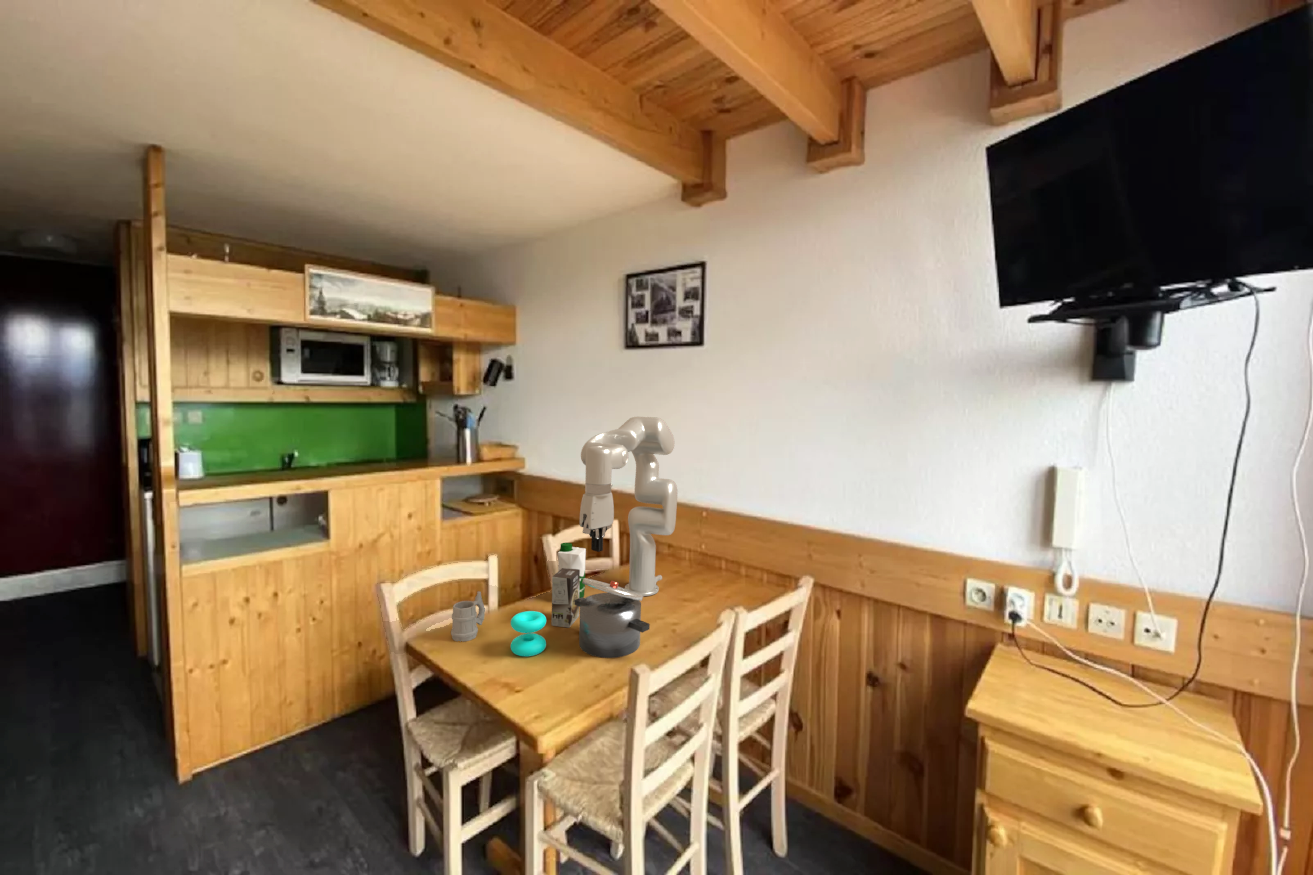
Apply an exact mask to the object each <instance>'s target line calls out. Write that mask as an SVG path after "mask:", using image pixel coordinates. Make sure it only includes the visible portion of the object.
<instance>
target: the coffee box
mask: <svg viewBox="0 0 1313 875" xmlns="http://www.w3.org/2000/svg"><path fill="white" fill-rule="evenodd" d="M551 578H552V582H551V587H552V588H551V626H554V627H562V628H571V626H572V625H573V624H574V623H575V621H577V619H578V618H580V607H579V606H577V605H575V600H576V599H578V598H579V584H580V570H579V569H566V568H562V569H561V570H560V571H557V572H556V573H555V574H554V575H552V576H551Z"/></svg>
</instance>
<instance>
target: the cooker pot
mask: <svg viewBox="0 0 1313 875" xmlns="http://www.w3.org/2000/svg"><path fill="white" fill-rule="evenodd" d="M575 605H577V606H579V640H578V642H579V648H580V650H582V651H583V653H586V654H588V655H590V656H592V657H596V658H603V659H604V658H605V659H606V658H607V659H615V658H620V657H625V656H628V655H631V654H633V653H635V652H636V651H637V650H638V649H639V648H640V645H641V633H642V634H643V633H645V632H647V631H649V630H650V626H651V624H650V623H648V622H646V621H643V620H641V618H642V603H641V601H640V600H634V599H630V598H626V597H622V596H618V595H615V594H611V593H608V592H600V593H595V594H592V595H589V596H586V597H581V598H578V599H576V600H575Z"/></svg>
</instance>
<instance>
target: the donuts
mask: <svg viewBox="0 0 1313 875" xmlns="http://www.w3.org/2000/svg"><path fill="white" fill-rule="evenodd" d="M546 624H547V617H546V616H545V614H543V613H542V612H540V611H536V610H535V611H534V610H527V611H522V612H518V613H516V614H515V615H514V616H513V617H511V619H510V626H511V628H512V630H514V631H515V632H518V633H521V634H520V635H517V636H516V637H515V638H513V639H512V640H511V643H510V650H511V652H512V653H513V654H514V655H516V656H520V657H533V656H536V655H539V654H541V653H542V652H544V650H545V649H546V647H547V642H546V639H545V637H544V636H542V635H541V634H538V633H536V632H539V631H540V630H542V629H543V628H544V627H545V626H546Z"/></svg>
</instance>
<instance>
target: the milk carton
mask: <svg viewBox="0 0 1313 875" xmlns="http://www.w3.org/2000/svg"><path fill="white" fill-rule="evenodd" d="M586 550H587V549H586V548H584V547H577V546H576V547H575V546H573V543H571V542H562V543H560V549H559V550H558V552H557V559H558V560H557V561H558V562H557V563H558V565H557V566H558V567H557V568H558V569H557V570H558V571H560V570H561V569H562V568H566V569H579V570H580V584H579V598H581V597H583V598H585V588H586V585H585V584H583V583H582V582H583V578H586V553H587V551H586ZM558 571H557V572H558Z"/></svg>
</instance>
